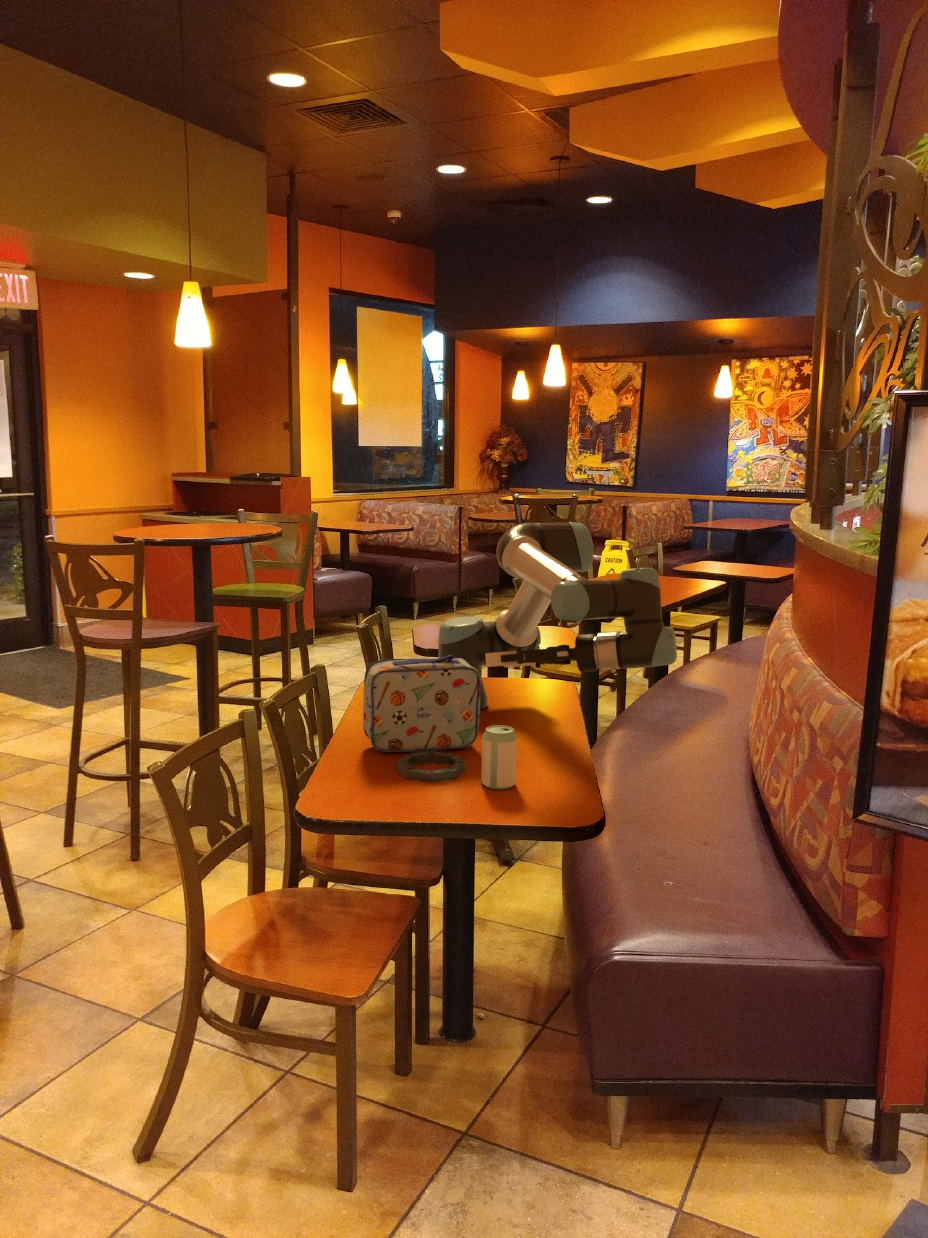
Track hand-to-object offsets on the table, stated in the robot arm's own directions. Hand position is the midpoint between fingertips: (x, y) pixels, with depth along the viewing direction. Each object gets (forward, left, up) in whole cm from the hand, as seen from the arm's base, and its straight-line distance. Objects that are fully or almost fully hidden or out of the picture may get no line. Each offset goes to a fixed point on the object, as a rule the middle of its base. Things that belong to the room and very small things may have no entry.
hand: (495, 660), depth 199 cm
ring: (+2, -13, -25) cm, 29 cm away
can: (+4, +3, -25) cm, 26 cm away
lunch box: (-12, -21, -25) cm, 35 cm away
